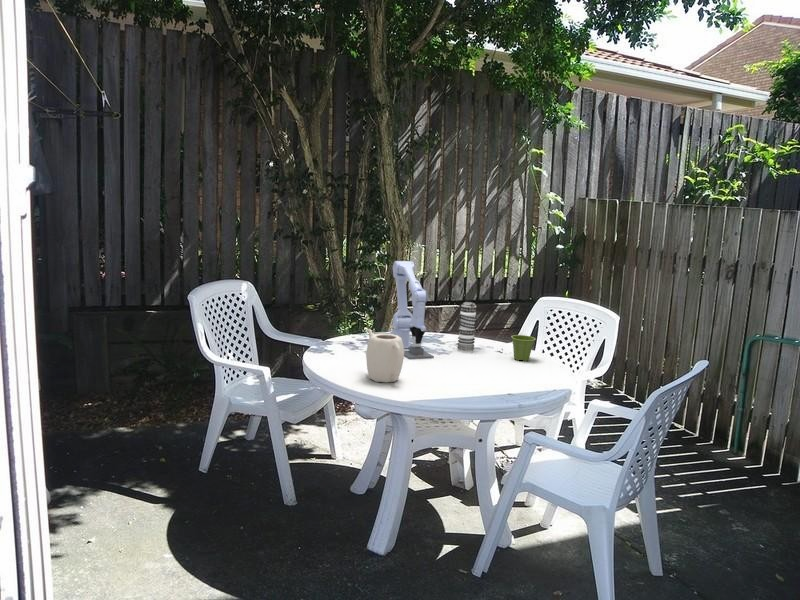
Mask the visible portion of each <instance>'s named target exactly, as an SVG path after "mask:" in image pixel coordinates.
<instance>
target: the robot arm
mask: <svg viewBox="0 0 800 600" xmlns="http://www.w3.org/2000/svg"><path fill="white" fill-rule="evenodd" d="M414 271H415V262H414V261H412V260H407V261H406V260H405V261H403V260H395V261H394V262H393V265H392V276H393V279H395V281H396V298H397V299H396V300H397V311H396V312H395V313H394V314H393V316H392V327H393V329H392V330H391V331H390V332H391V333H390V334H394V335H397V336H399V337H400V338H402V342H403V345H404V350H405V349H409V346H411V345H410V335H411V336H412V339H413V336H416V344H421V345H422V340H423V337H424V335H425V334H426V331H427V327H426V326H425V313H426V303H427V302H428V298H429V296H428V291H427V290H425V289H423V287H422V285H421V282H420V281H419V280H418V279H417V278H416V275H415V272H414ZM407 281H408V289H409V290H410V293H411V304H412V312H410V311H409V310H408V299H407V298H408V295H407ZM410 333H411V334H410Z"/></svg>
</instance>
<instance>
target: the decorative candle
mask: <svg viewBox="0 0 800 600" xmlns="http://www.w3.org/2000/svg"><path fill="white" fill-rule="evenodd" d="M460 307H461V308H460V312H459V313H458V318H459V319H458V325H459V326H458V329H459V332H458V337H457V342H458V343H457V347H456V348H457V352H459V353H464V354H472V353H474V352H475V351H474V350H475V340H476V338H475V330H476V326H477V324H476V322H478V320H477V319H478V317H477V305H476V303H475V302H471V301H469V302H468V301H465V302H463V303H462V304H460Z"/></svg>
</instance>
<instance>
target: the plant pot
mask: <svg viewBox="0 0 800 600" xmlns="http://www.w3.org/2000/svg"><path fill="white" fill-rule="evenodd" d="M511 338H512V348H513V349H512V350H513V359H514V360H515V359H516V360H515V361H518V360H523V361H522V362H527V360H528V361H529V360H530V357H531V353H532V349H533V345H534V343H535V341H536V338H535V337H534V336H530V335H526V334H525V335H523V334H514V335H511Z"/></svg>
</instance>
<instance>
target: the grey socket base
mask: <svg viewBox="0 0 800 600" xmlns="http://www.w3.org/2000/svg"><path fill="white" fill-rule="evenodd" d="M404 358H406V359H408V360H421V359H422V360H423V359H424V360H425V359H434V358H435V356H434V355H432V354H431V353H429V352H428V351H425V348H423V347H422V346H421V347H416V348H415V349H414V348H413V345H410V346H409V348H408V350H404Z"/></svg>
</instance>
